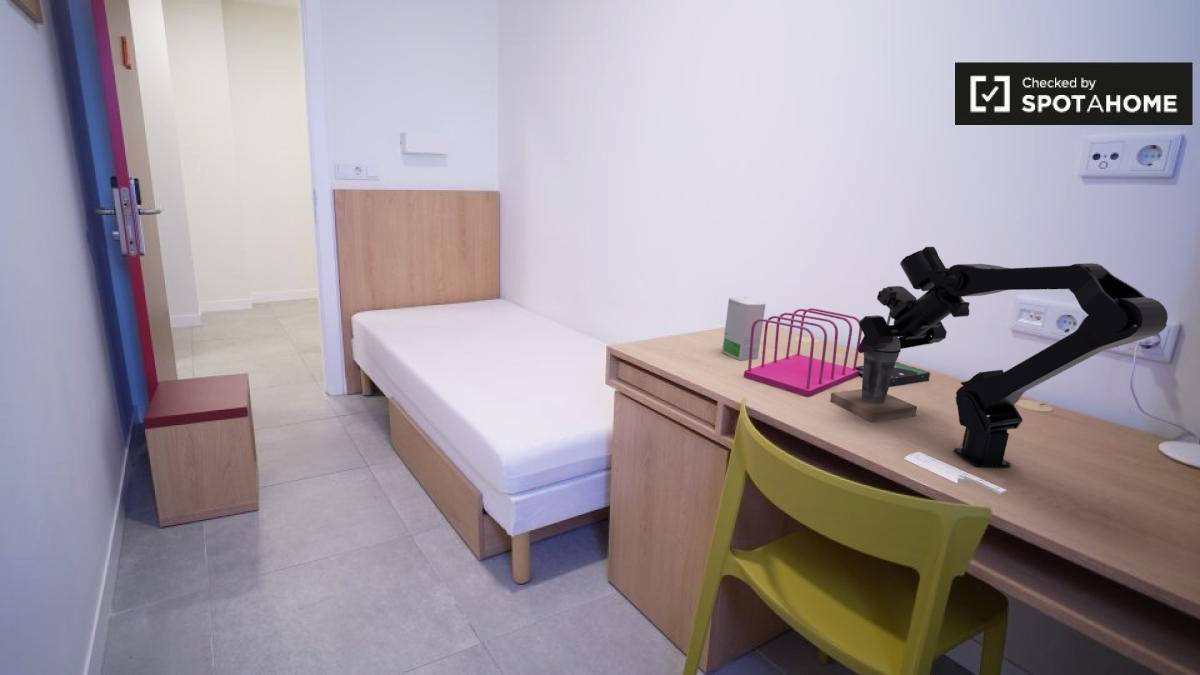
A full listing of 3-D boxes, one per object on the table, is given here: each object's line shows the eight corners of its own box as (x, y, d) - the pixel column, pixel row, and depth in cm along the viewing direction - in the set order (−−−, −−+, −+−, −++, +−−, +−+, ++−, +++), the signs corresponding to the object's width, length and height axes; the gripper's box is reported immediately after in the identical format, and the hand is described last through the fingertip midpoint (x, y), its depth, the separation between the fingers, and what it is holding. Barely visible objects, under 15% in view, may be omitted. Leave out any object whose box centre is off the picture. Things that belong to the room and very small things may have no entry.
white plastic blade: (987, 501, 94) (988, 495, 94) (900, 461, 107) (901, 456, 107) (1005, 494, 97) (1007, 488, 96) (919, 456, 109) (920, 450, 109)
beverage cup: (847, 396, 131) (861, 306, 126) (868, 391, 135) (882, 303, 130) (878, 408, 125) (893, 313, 120) (898, 402, 129) (915, 310, 124)
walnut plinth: (915, 415, 127) (917, 406, 127) (871, 421, 123) (873, 412, 123) (872, 396, 138) (873, 387, 138) (830, 401, 134) (831, 392, 133)
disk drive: (887, 390, 145) (929, 382, 151) (889, 379, 144) (931, 371, 150) (853, 377, 154) (893, 370, 160) (854, 366, 153) (895, 360, 159)
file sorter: (742, 377, 148) (749, 315, 144) (796, 360, 165) (803, 303, 161) (808, 398, 136) (817, 330, 132) (858, 376, 152) (868, 315, 148)
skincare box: (721, 352, 168) (726, 297, 164) (740, 350, 171) (746, 296, 167) (740, 361, 161) (746, 303, 157) (760, 359, 164) (766, 302, 160)
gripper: (944, 274, 123) (892, 315, 136) (873, 276, 116) (825, 319, 129) (972, 320, 118) (915, 359, 131) (899, 326, 111) (847, 365, 124)
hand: (876, 349), depth 129 cm, fingers open, 9 cm apart
